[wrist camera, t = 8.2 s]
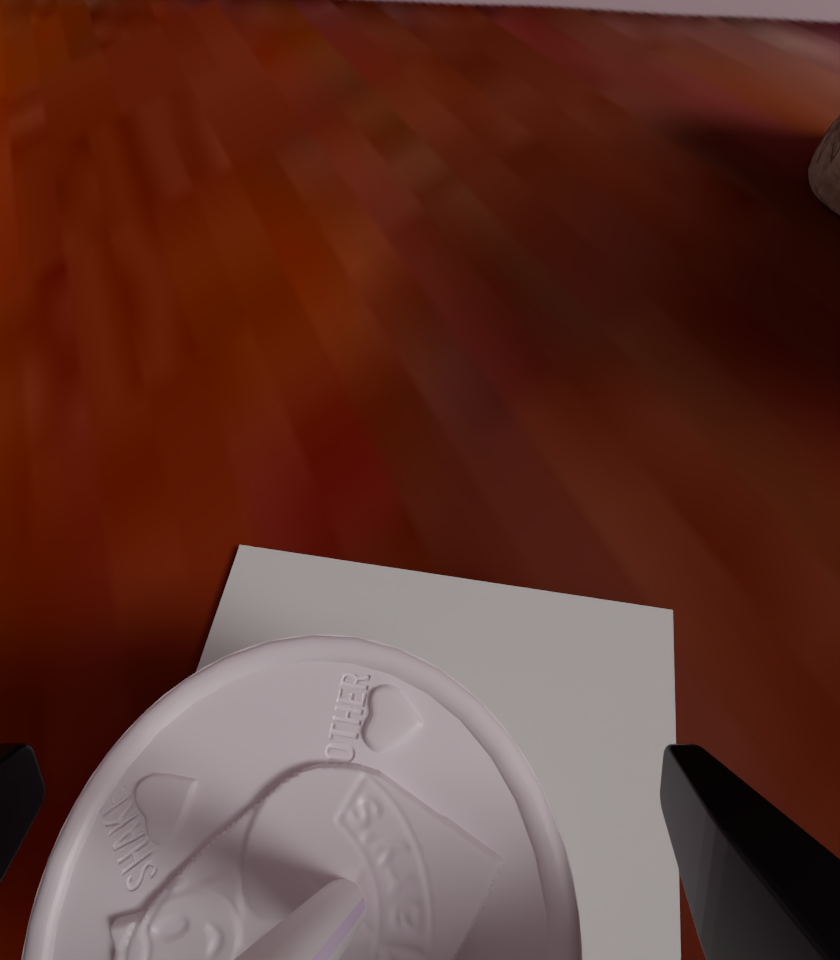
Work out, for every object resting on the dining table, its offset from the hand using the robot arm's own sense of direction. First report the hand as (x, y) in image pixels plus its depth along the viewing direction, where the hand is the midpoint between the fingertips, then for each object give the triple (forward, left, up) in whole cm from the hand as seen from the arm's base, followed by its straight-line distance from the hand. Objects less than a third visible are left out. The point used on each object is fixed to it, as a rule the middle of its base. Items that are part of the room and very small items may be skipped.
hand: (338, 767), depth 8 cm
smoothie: (-1, 0, -9) cm, 9 cm away
